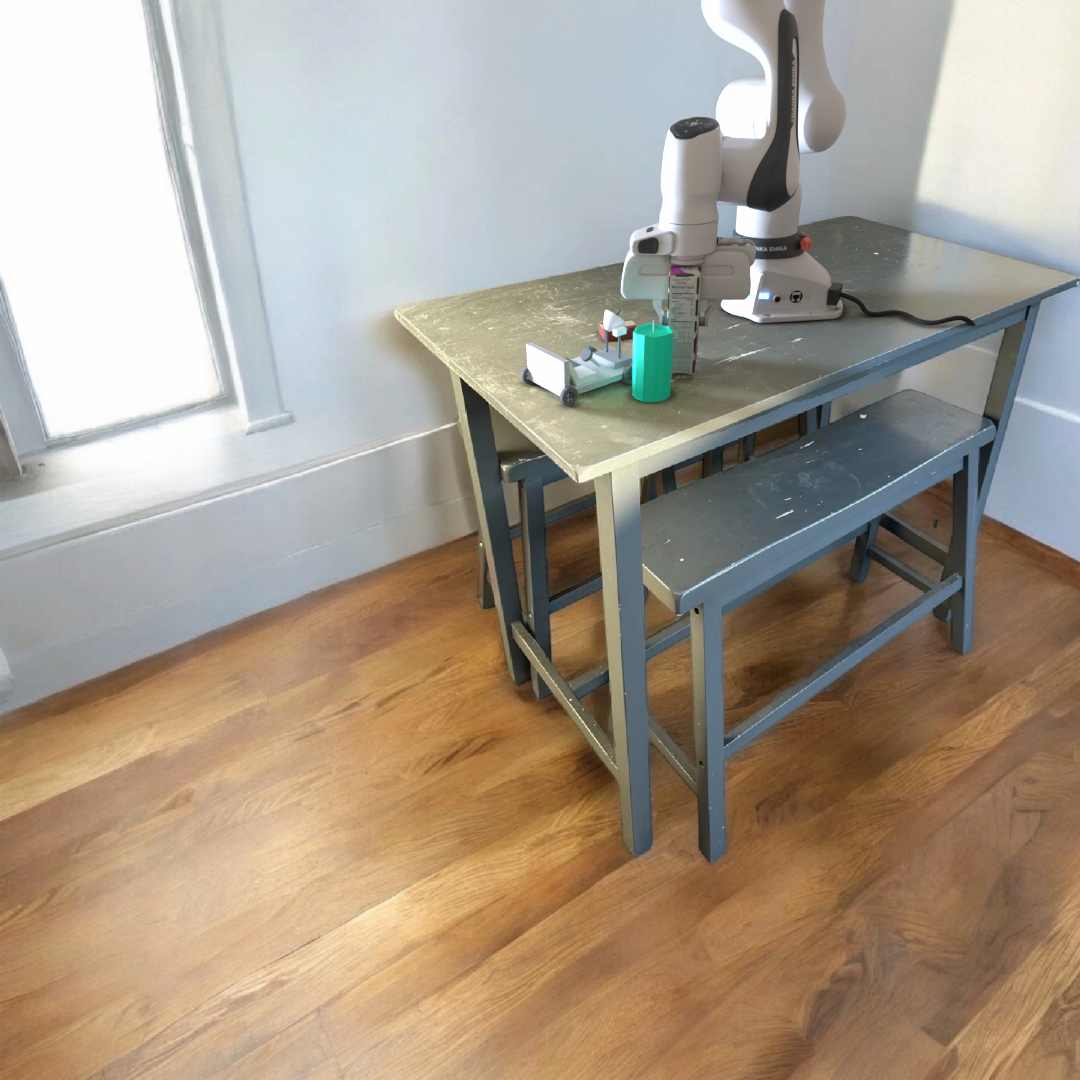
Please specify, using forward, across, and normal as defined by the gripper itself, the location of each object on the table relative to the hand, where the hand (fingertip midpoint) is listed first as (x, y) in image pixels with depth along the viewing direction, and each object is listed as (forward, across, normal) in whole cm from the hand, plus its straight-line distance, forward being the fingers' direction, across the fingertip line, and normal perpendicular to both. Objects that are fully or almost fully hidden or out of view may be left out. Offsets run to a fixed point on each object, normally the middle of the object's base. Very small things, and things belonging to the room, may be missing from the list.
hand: (683, 325), depth 138 cm
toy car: (+8, +15, +6) cm, 18 cm away
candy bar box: (+6, 0, 0) cm, 7 cm away
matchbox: (+7, +12, -14) cm, 20 cm away
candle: (+8, +4, +11) cm, 14 cm away
